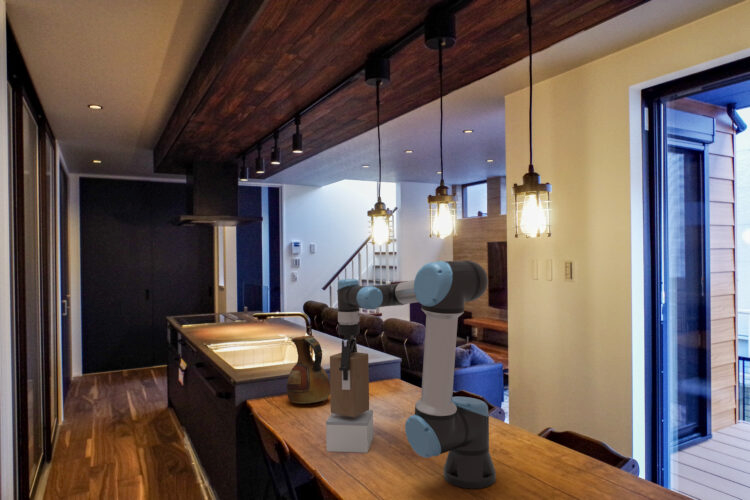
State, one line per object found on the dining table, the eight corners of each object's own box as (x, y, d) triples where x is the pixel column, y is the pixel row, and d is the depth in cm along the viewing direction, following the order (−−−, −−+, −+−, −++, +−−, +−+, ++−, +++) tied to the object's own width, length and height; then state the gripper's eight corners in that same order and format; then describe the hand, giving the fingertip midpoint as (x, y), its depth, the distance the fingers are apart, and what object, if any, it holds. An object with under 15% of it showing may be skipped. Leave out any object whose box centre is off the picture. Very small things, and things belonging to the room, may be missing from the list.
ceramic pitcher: (307, 393, 241) (306, 330, 241) (340, 400, 230) (339, 334, 230) (277, 404, 225) (276, 336, 226) (310, 411, 214) (309, 341, 214)
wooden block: (353, 417, 170) (352, 358, 170) (330, 413, 176) (329, 355, 176) (369, 409, 179) (368, 353, 179) (346, 405, 184) (345, 350, 184)
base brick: (367, 452, 169) (366, 422, 169) (326, 451, 171) (326, 421, 171) (373, 437, 183) (372, 409, 183) (335, 436, 185) (335, 408, 185)
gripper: (353, 328, 165) (354, 394, 164) (364, 318, 189) (365, 376, 189) (330, 328, 166) (331, 393, 166) (345, 318, 190) (346, 375, 190)
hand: (349, 384), depth 177 cm, fingers closed on wooden block, 12 cm apart
